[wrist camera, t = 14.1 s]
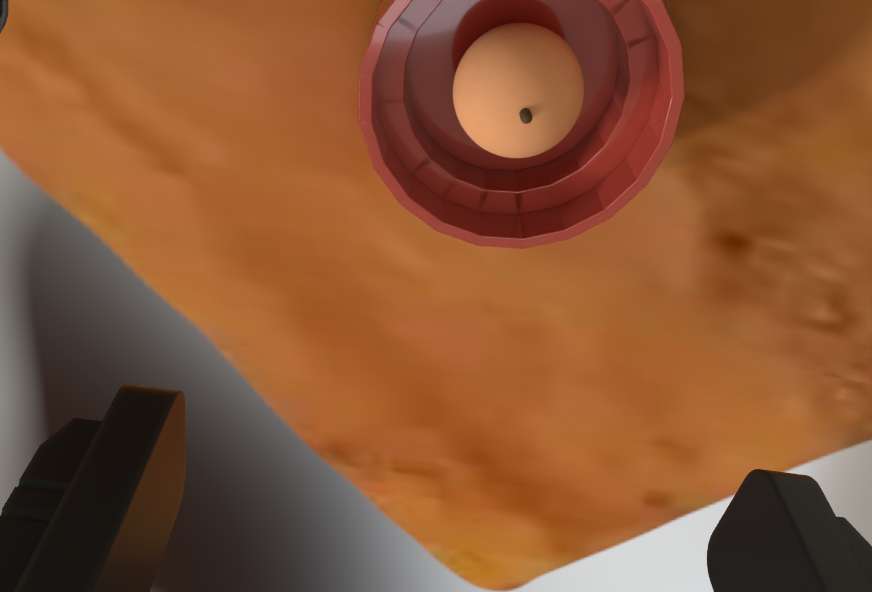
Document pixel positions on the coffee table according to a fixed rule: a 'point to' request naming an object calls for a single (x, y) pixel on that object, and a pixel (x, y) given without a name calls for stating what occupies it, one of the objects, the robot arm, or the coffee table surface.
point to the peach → (518, 90)
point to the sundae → (3, 13)
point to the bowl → (531, 176)
